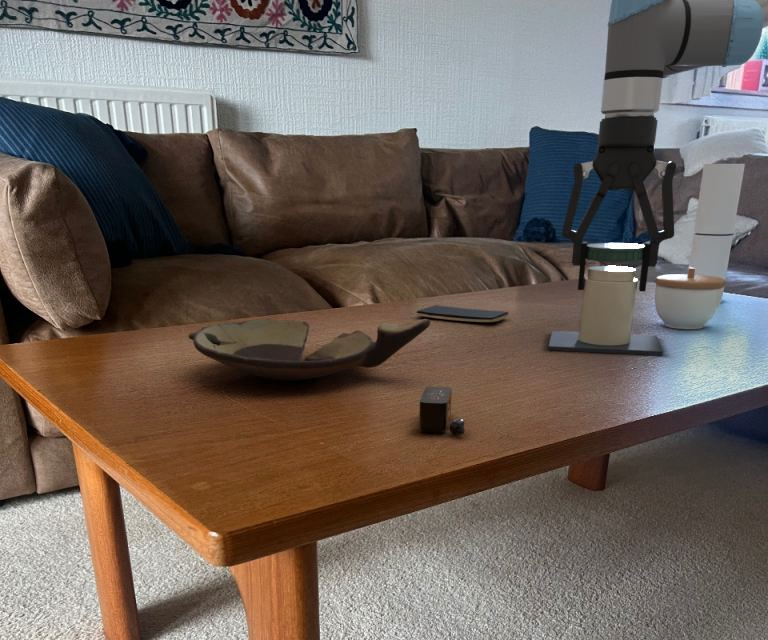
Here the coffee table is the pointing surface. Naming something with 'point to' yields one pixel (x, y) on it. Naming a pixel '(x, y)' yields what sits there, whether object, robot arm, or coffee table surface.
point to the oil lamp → (298, 348)
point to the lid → (615, 252)
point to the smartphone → (462, 314)
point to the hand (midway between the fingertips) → (611, 289)
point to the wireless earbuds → (438, 411)
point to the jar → (608, 305)
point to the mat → (635, 346)
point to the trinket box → (687, 299)
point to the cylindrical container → (716, 219)
